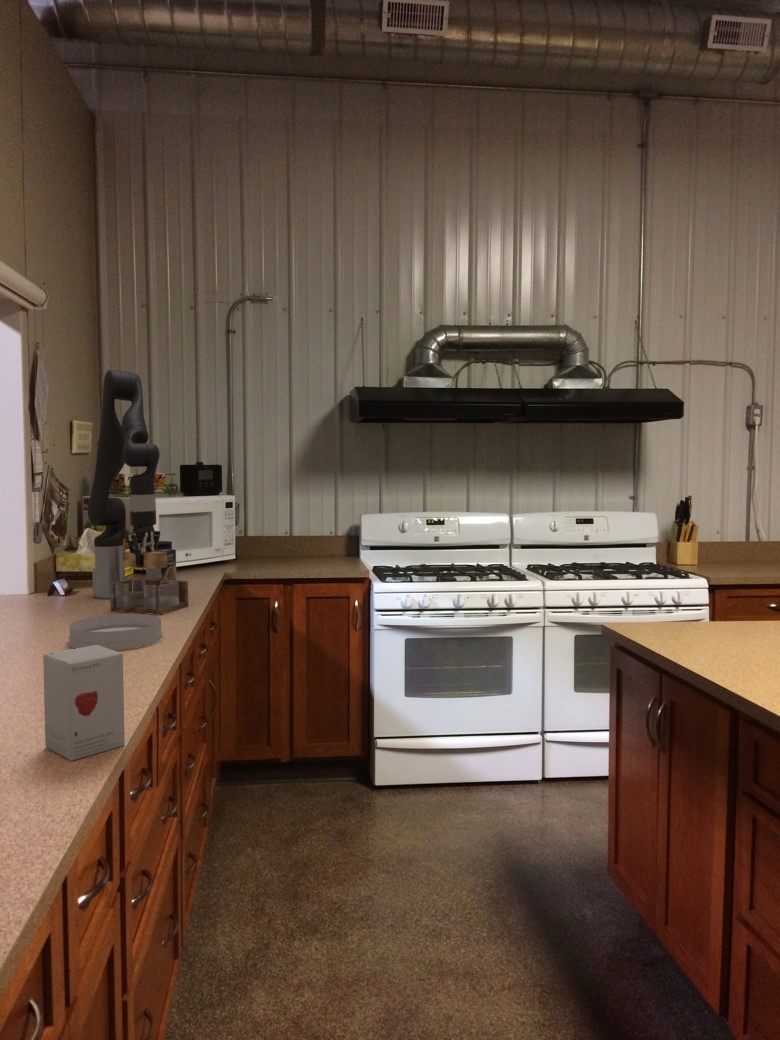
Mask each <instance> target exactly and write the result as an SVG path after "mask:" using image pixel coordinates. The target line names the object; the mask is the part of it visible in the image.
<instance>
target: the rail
mask: <svg viewBox="0 0 780 1040" xmlns="http://www.w3.org/2000/svg"><path fill="white" fill-rule="evenodd" d="M122 554H123V567H124V568H131V569H132V568H136V569H146V568H156V569H160V568H165V567H167V552H146V551H143V557H144V566H143V567H137V566H136V555H135V554H134V553H130V550H128V551H124V552H122Z"/></svg>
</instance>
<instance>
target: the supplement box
mask: <svg viewBox="0 0 780 1040" xmlns="http://www.w3.org/2000/svg"><path fill="white" fill-rule="evenodd" d="M42 657H43V661H42V662H43V695H44V696H43V697H44V699H43V700H44V704H43V706H44V743H45V744H44V746H45V747H46V749H47V748H48V749H49V750H51V751H53V752H54V753H56V754H58V755H60V756H61V757H63V758H65V759H67V760H69V761H70V762H73V761H76V760H79V759H82V758H86V757H90V756H92V755H96V754H100V753H103V752H106V751H110V750H113V749H117V748H121V747H123V746H125V743H126V742H125V740H126V739H125V707H124V706H125V704H124V703H125V700H124V698H125V697H124V695H125V693H124V692H125V691H124V688H125V687H124V655H123V652H120V651H114V650H111V649H108V648H105V647H102V646H99V645H92V646H87V647H82V648H75V649H74V648H70V649H65V650H60V651H54V652H48V653H44V654H43V656H42Z"/></svg>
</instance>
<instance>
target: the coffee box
mask: <svg viewBox="0 0 780 1040" xmlns="http://www.w3.org/2000/svg"><path fill="white" fill-rule="evenodd" d="M154 552H167V567H165V568H160V569H156V568H145V576H146V577H145V579H160V580H177V550H176V549H173V548H172V549H164V550H155V551H154Z"/></svg>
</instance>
